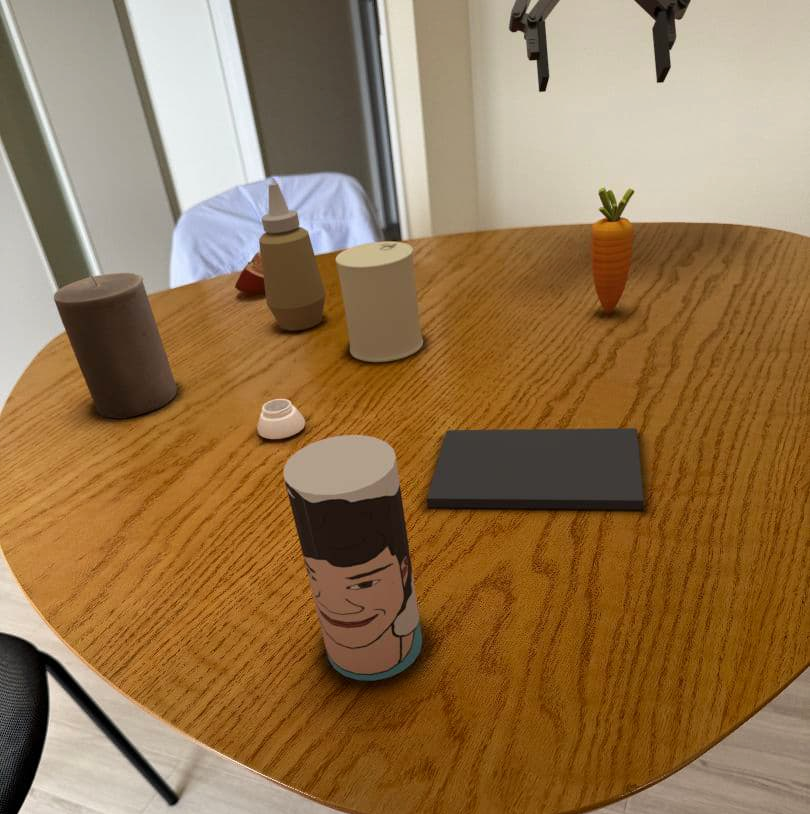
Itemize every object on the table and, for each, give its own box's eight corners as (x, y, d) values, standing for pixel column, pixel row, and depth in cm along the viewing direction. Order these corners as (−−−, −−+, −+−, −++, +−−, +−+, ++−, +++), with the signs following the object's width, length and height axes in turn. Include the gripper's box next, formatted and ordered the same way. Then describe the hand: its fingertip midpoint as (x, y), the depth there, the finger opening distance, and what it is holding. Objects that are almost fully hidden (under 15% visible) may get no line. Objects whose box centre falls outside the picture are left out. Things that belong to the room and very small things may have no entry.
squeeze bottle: (261, 327, 108) (228, 189, 98) (307, 308, 112) (281, 173, 101) (294, 340, 103) (263, 195, 92) (342, 319, 107) (318, 179, 96)
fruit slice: (246, 283, 125) (238, 252, 122) (287, 280, 124) (280, 248, 121) (231, 302, 118) (223, 269, 115) (274, 299, 117) (267, 265, 114)
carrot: (632, 307, 99) (640, 180, 90) (624, 322, 95) (631, 191, 86) (593, 305, 101) (597, 180, 92) (583, 320, 97) (586, 192, 88)
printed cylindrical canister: (310, 643, 56) (263, 464, 47) (386, 600, 59) (355, 423, 50) (361, 696, 51) (320, 509, 42) (441, 647, 54) (418, 461, 45)
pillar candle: (109, 427, 88) (59, 297, 79) (87, 400, 95) (38, 277, 86) (190, 398, 92) (150, 271, 83) (162, 374, 99) (123, 254, 90)
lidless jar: (256, 425, 84) (262, 446, 80) (250, 400, 83) (255, 421, 79) (301, 415, 85) (309, 435, 81) (296, 390, 83) (303, 410, 79)
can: (437, 337, 98) (428, 239, 91) (395, 367, 92) (382, 265, 85) (378, 328, 103) (365, 234, 96) (335, 356, 97) (318, 258, 90)
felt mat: (636, 437, 73) (637, 427, 73) (643, 510, 64) (643, 500, 63) (447, 438, 77) (446, 429, 77) (427, 507, 68) (426, 498, 67)
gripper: (686, -80, 93) (702, 91, 92) (478, -63, 94) (491, 108, 93) (709, -137, 86) (726, 48, 85) (483, -119, 86) (497, 66, 85)
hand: (603, 80), depth 89 cm, fingers open, 13 cm apart
